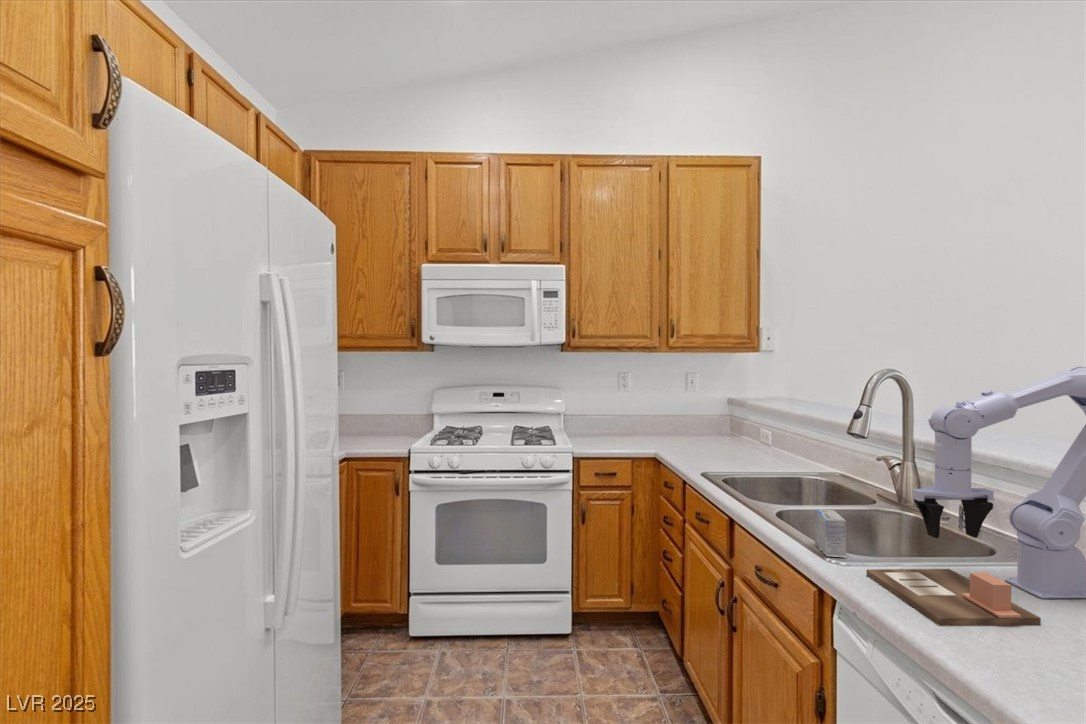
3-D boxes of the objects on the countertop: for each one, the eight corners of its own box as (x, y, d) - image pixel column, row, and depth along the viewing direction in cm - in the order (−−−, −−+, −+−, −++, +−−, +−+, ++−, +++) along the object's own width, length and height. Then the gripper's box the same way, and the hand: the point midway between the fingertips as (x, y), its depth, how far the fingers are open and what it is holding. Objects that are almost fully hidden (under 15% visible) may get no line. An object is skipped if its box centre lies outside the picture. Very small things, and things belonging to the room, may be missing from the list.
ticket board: (949, 574, 109) (949, 567, 109) (1040, 624, 89) (1040, 616, 89) (866, 575, 109) (866, 568, 109) (939, 625, 89) (939, 616, 89)
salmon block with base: (981, 595, 96) (981, 569, 96) (1020, 617, 88) (1021, 588, 88) (961, 595, 96) (961, 569, 96) (999, 617, 88) (999, 589, 88)
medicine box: (846, 559, 117) (846, 520, 117) (825, 557, 118) (825, 519, 118) (834, 546, 125) (834, 509, 125) (814, 545, 126) (814, 508, 126)
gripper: (973, 463, 108) (972, 529, 108) (902, 463, 108) (902, 529, 108) (1003, 470, 101) (1002, 541, 101) (927, 471, 101) (926, 541, 101)
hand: (952, 536), depth 104 cm, fingers open, 7 cm apart
